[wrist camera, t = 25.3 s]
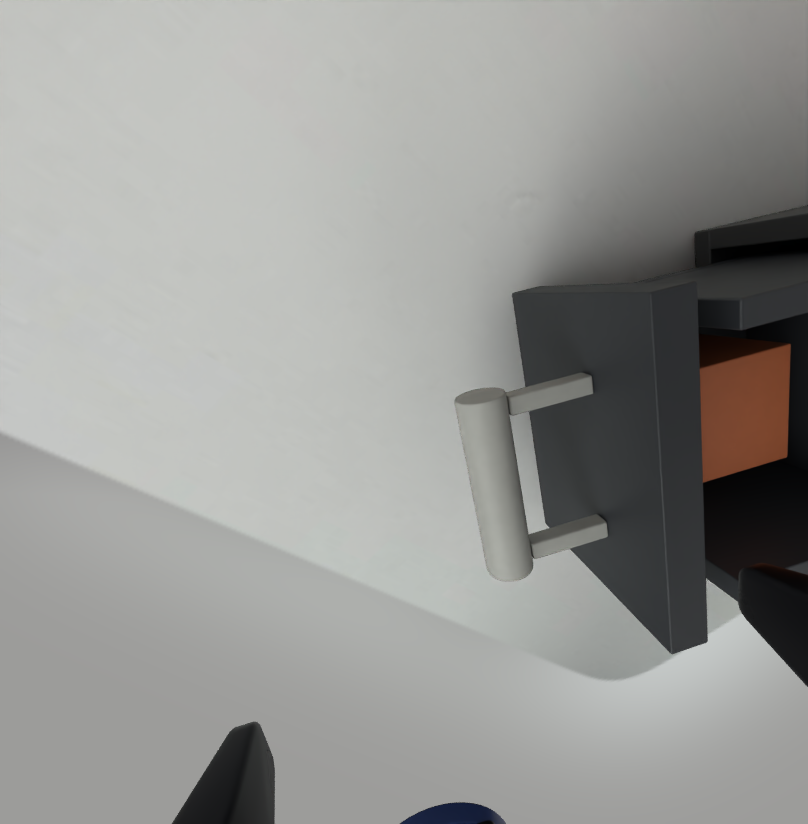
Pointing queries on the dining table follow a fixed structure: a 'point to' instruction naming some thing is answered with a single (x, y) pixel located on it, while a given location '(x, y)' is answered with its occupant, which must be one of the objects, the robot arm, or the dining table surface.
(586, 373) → the drawer
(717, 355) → the block
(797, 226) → the cabinet
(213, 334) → the dining table surface
